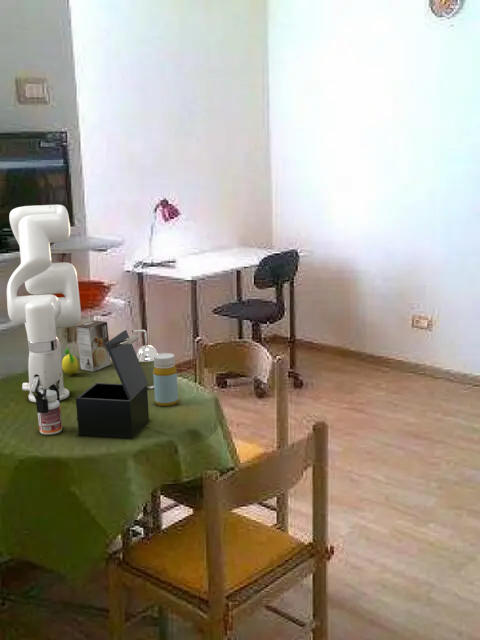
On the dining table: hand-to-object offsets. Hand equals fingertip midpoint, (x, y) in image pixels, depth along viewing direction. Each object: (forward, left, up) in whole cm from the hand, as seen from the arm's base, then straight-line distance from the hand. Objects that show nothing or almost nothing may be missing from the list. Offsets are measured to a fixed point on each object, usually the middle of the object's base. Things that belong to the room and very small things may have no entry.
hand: (48, 407), depth 216 cm
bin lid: (+22, +5, +12) cm, 25 cm away
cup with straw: (+14, +41, -7) cm, 44 cm away
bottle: (+25, +27, -7) cm, 37 cm away
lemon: (-17, +49, -7) cm, 52 cm away
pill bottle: (0, 0, -7) cm, 7 cm away
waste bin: (+17, +5, -7) cm, 19 cm away
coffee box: (-12, +59, -7) cm, 61 cm away
